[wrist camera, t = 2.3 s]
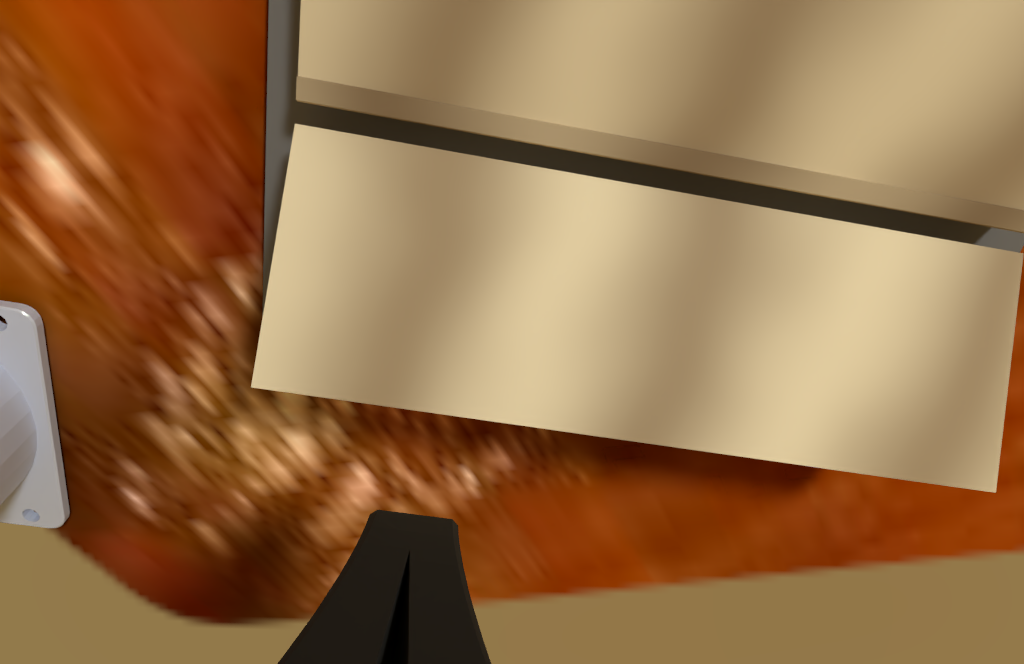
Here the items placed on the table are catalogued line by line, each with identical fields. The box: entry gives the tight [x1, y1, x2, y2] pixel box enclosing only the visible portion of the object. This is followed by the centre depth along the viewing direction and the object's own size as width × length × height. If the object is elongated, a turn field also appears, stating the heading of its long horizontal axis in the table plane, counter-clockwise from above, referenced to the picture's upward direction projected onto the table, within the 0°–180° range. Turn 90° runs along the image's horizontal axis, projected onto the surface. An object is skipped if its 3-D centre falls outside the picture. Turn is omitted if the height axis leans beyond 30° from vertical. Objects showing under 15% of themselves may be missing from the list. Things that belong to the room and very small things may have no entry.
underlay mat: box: [262, 0, 1024, 318], centre depth 18 cm, size 20×16×1 cm
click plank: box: [251, 124, 1023, 493], centre depth 17 cm, size 18×6×1 cm, turn 80°
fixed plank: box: [296, 0, 1024, 233], centre depth 16 cm, size 18×6×1 cm, turn 80°
